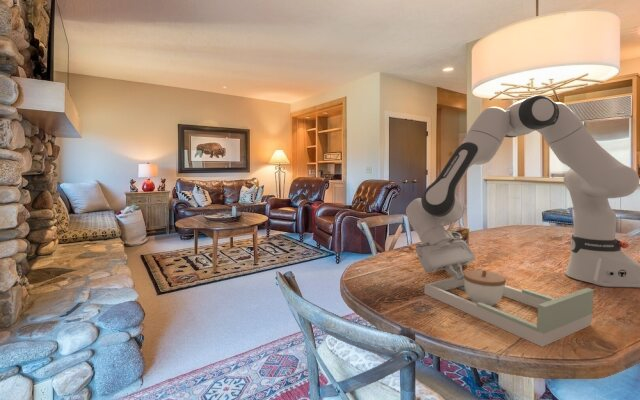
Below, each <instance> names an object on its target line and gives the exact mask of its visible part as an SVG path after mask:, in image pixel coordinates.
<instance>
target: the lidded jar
mask: <svg viewBox="0 0 640 400" xmlns="http://www.w3.org/2000/svg"><path fill="white" fill-rule="evenodd" d="M463 274H464V287H465V291H464V292H465V293H466V295H467V297H468V298H469V299H470V301H471V302H474V303H476V304H477V303H479V302H481V303H484V304H486V305H489V306H491V307H494V306H496V304H497V303H498V302H500V301H501V299H502V298H503V297H504V296H503V294H504V290H505V285H506V283H507V282H506V281H507V280H506V279H507V278H506V277H505V276H504V275H503V274H500V273H497V272H495V271H491V270H490V271H489V270H486V269H481V270H479V269H474V270H473V269H472V270H466V271H464V272H463Z"/></svg>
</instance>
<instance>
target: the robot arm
mask: <svg viewBox="0 0 640 400" xmlns="http://www.w3.org/2000/svg"><path fill="white" fill-rule="evenodd" d="M535 131H536V132H537V133H540V134H541V136H542V138H543V139H544V141H545V142H546V143H547V145H548V146H549V148H550V150H551V151H552V152H553V153H554V155H555V156H556V158H557V159H558V160H559V161H560V162H561V163H562V164H563V165H565V166H567V167H568V168H569V169H567V171H566V172H565V173H564V176H563V184H564V186H565V188H566V189H567V190H568V191H569V195H570V198H571V202H572V207H573V233H572V235H571V238H570V251H571V252H570V257H569V262H568V264H567V267H566V269H565V272H564V274H565V275H566V276H567V277H570V278H572V279H574V280H578V281H582V282H586V283H590V284H593V285H597V286H600V287H606V288H607V287H608V288H609V287H612V288H613V287H614V288H640V263H639V262H638V261H636V260H635V259H634V258H633V257H631V256H629V255H628V254H627V253H625V252H624V251H623V250H622V249H628V248H629V247H630V243H628V242H627V241H623V240H622V241H621V240H619V239H617V238H616V234H617V233H616V231H617V221H618V220H617V219H618V218H617V214H616V212H615V211H614V210H613V209H612V207H611V205H610V201H609V199H618V198H624V197H628V196H630V195H633V194H634V192H635V191H636V190H637V189H638V187H639V184H640V177H639V176H640V175H639V174H638V173H637V171H636V170H635V169H633V168H632V167H630V166H628V165H625V164H623V163H622V162H620V161H619V160H618V159H616V158H615V157H614V156H613V155H611V154H610V153H609V152H608V151H607V150H605V148H603V147H602V146H601V145H600V143H598V142H597V141H596V139H595V138H594V137H593V136H592V134H591V133H590V131H589V130H588V129H587V128H586V126H585V125H584V123H583V122H582V120H581V118H579V116H578V115H577V114H576V113H575V112H574V111H573V110H572V109H571V108H570V107H569V106H568V105H566V104H565V103H563V102H560V101H558V102H555V101H554V100H553V99H552V98H551V97H549V96H546V95H544V94H543V95H542V94H539V95H538V94H537V95H531V96H528V97H526V98H525V99H521V100H518V101H516V102H514V103H513V104H511V105H510V106H508V107H506V108H505V109H503V108H501V107H498V106H490V107H486V108H485V109H484V110H482V112H480V113H479V115H478V116H477V118H476V119H475V121H474V122H473V124H472V125H471V126H470V128H469V130H468V132H467V133H466V135H465V137H464V138H463V140H462V142H461V143H460V145H459V146H458V147H457V148H456V150H455V151H454V152H453V153H452V155H451V157H450V158H449V159H448V161H447V163H446V164H445V165H444V167H443V169H442V170H441V172H440V173H439V175H438V176H437V178H436V179H435V180H434V181H433V182H432V183H431V184H430V185H429V186H427V187H426V188H425V190H424V191H423V192H422V194H421V197H417V198H415V199H412V201H410V202H409V204H408V205H407V207H405V208H406V209H405V214H406V217H407V220H408V222H409V224H410V225H411V226H410V227H412V229H413V231H414V232H415V233H416V234H417V235H418V237H419V238H418V239H419V241H420V243H418V244H416V246H415V249H414V251H415V253H416V254H417V257H418V260H419V262H420V265H421V267H422V269H423V270H424V271H425V272H426V273H433V272H438V271H443V270H444V271H445V272H446V273H448V274H449V275H450V276H451V277H452V278H454V279H455V280H456V281H457V280H460V279H463V278H464V272H463V268H462V266H461V265H466V264H467V265H469V264H471V263H472V262H473V261H475V259H476V255H475V254H474V252H473V250H472V249H471V247H470V246H469V245H467V243H466V242H465V241H463V240H461V239H462V236H461V234H460V233H456V232H452V231H449V230H447V229H446V228H445V227H446V226H449V225H451V224H453V223H456V222H457V221H459V220H460V219H461V218H462V217H463V215H464V211H465V206H464V203H463V202H462V200H461V199H460V198H459V197H458V196H457V195H456V191H457V187H458V186H459V185H460V183H461V181H462V180H463V177H464V176H465V174H467V171H468V170H469V169H470V168H471V167H472V166H474V165H475V166H476V165H477V166H478V165H484V164H487V163H489V162H490V161H491V160H492V159H493V158H494V157H495V156H496V154H497V152H498V151H499V150H500V149H499V148H500V147H501V146H502V144H503V141H504V139H505V138H516V137H519V136H524V135H525V136H526V135H528V134H531V133H532V132H535ZM453 268H454V269H455V270H454V269H453Z"/></svg>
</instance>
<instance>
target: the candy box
mask: <svg viewBox="0 0 640 400" xmlns="http://www.w3.org/2000/svg"><path fill="white" fill-rule="evenodd" d="M446 230H449V231H452V232H456V233H460V234H461V236H462V239H461V240H463V241H465V242H466V243H467V245H468V246H469V242H470V227H467V226H466V227H465V226H459V227H451V228H447V229H446ZM461 266H462V269H463V268H466V267H468V264H466V265H461ZM453 269H454V268H453ZM454 270H455V269H454ZM455 271H456V270H455Z"/></svg>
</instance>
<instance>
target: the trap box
mask: <svg viewBox="0 0 640 400" xmlns="http://www.w3.org/2000/svg"><path fill="white" fill-rule="evenodd" d="M453 289H459V290H461V291H464V292H466V291H465V287H464V278H463V279H460V280H457V281H456V280H455V279H454V278H453V277H450V278H444V279H441V280H437V281H432V282H429V283H424V292H423V294H424V295H426V296H429V297H431V298H433V299H435V300H437V301H440V302H441V303H444V304H446V305H448V306H451V307H453V308H455V309H458V310H459V311H462V312H464V313H467V314H469V316H470V315H471V316H472V317H476V318H477V319H479V320H481V321H484V322H487V323H488V324H491V325H493V326H495V327H496V328H499V329H502V330H504V331H506V332H509V333H511V335H512V334H513V335H515V336H517V337H519V338H522V339H523V340H525V341H528V342H530V343H532V344H535V345H537V346H539V347H542V348H543V347H545V346H547V345H550V344H552V343H554V342H556V341H558V340H562V339H564V338H566V337H567V336H568V337H569V336H570V335H572V334H575V333H576V332H579V331H582V330H583V329H585V328H588V327H590V326H592V325H591V324H592V314H593V313H592V314H590V315H588V316H585V317H583V318H580V319H578V320H576V321H573V322H571V323H568V324H566V325H564V326H561V327H559V328H557V329H554V330H552V331H549V332H547V333H545V334H542V333H540V332H538V331H535V330H532V329H530V328H528V327H525V326H523V325H520V324H518V323H516V322H513V321H511V320H508V319H506V318H504V317H501V316H499V315H496V314H494V313H492V312H489V311H487V310H485V309H482V308H480V307H477V304H476V303H474V302H472V300H468V299H466V298H464V297H461V296H459V294H458V293H455V292H453V291H451V290H453ZM502 297H505V298H508V299H511V300H514V301H517V302H519V303H522V304H524V305H527V306H530V307H533V308H536V309H538V305H539V304H542V303H545V302H547V301H546V300H543V299H540V298H537V297H534V296H531V295H528V294H525V293H522V289H521V290H520V289H518V288H515V287H512V286H509V285H506V284H505V290H504V294H503V296H502Z"/></svg>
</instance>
